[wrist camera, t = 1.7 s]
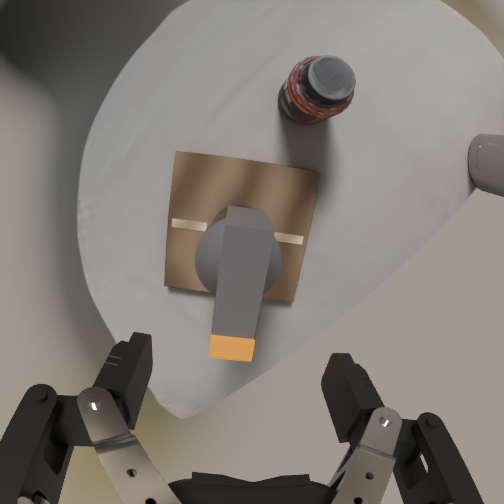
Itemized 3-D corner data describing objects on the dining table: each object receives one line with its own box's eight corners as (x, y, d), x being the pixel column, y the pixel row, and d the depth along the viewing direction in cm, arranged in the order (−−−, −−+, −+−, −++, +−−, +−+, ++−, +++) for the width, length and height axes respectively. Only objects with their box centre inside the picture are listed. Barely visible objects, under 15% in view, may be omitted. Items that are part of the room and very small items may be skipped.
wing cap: (203, 197, 23) (186, 221, 15) (287, 209, 24) (312, 238, 16) (193, 295, 26) (178, 353, 18) (268, 304, 27) (280, 363, 19)
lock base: (316, 172, 32) (343, 179, 24) (290, 296, 37) (304, 336, 29) (178, 151, 30) (157, 150, 22) (167, 280, 36) (148, 317, 27)
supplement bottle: (337, 102, 29) (380, 83, 19) (305, 136, 31) (338, 128, 20) (299, 68, 28) (327, 32, 17) (265, 101, 29) (280, 75, 18)
